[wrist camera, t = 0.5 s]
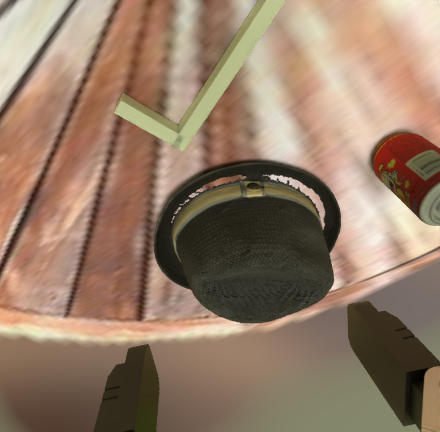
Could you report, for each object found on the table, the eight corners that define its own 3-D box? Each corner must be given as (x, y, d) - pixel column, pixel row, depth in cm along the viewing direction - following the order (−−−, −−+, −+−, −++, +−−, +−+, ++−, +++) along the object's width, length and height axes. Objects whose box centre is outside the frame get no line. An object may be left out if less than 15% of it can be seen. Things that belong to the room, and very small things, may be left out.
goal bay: (116, 104, 36) (114, 113, 34) (231, -113, 27) (237, -118, 25) (182, 142, 40) (183, 151, 38) (302, -39, 31) (312, -39, 29)
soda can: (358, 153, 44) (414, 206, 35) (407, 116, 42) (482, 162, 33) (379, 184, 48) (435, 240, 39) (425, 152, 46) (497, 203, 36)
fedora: (307, 287, 60) (337, 351, 50) (151, 289, 55) (150, 362, 45) (360, 164, 46) (416, 219, 36) (157, 150, 40) (156, 211, 31)
